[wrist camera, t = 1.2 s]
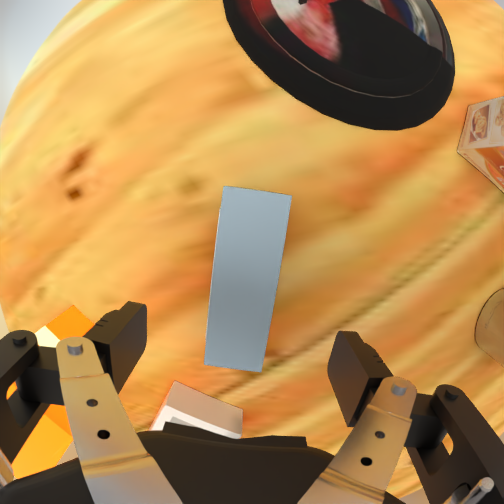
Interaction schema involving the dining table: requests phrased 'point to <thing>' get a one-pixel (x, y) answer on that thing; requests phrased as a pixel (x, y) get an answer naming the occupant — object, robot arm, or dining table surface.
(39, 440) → the orange juice
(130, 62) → the dining table surface
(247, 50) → the wall clock
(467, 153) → the coffeecake box
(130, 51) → the dining table surface
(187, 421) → the white rectangular tray
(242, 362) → the pale blue flat slab
